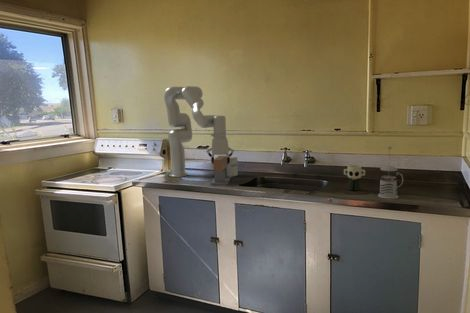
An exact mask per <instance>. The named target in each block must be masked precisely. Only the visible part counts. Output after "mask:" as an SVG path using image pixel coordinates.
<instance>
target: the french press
mask: <svg viewBox="0 0 470 313" xmlns="http://www.w3.org/2000/svg"><path fill="white" fill-rule="evenodd" d="M387 149H388V150H389V151H388V158H391V157H390V153H391V150H390V149H392V146H390V145H388V146H387ZM379 169H380V171H383V172H396V171H398V168H397V167H395V166H393V165H390V164H388V165H385V166H381V167H380V168H379ZM395 174H396V176H398V175H400V176H401V184H400V185H398V184H397V183H398V180H397V177H396V176H394V175H390V173H388V175H381V176H380V180H379V193H378V194H377V196H378V198H383V199H391V198H392V199H398V198H399V195H398V188H400V187H401V186H402V185H403V184H404V176H403V174H402V173H400V172H396V173H395Z"/></svg>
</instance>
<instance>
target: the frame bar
mask: <svg viewBox="0 0 470 313" xmlns="http://www.w3.org/2000/svg"><path fill="white" fill-rule="evenodd" d="M212 165H213V172H214V171H223V170H224V169H225V168H226V167H227V155H218V156H217V157H214V160H213V164H212Z"/></svg>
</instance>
